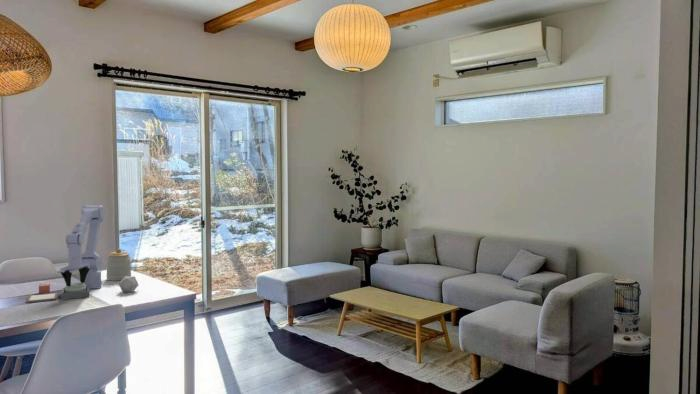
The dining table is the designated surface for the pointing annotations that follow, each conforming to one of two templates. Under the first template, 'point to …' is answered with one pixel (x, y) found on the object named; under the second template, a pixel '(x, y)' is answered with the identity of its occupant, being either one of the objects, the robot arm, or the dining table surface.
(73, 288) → the dome
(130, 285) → the die
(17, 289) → the dining table surface
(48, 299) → the board
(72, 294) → the grey square tray
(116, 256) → the jar
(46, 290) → the small die
